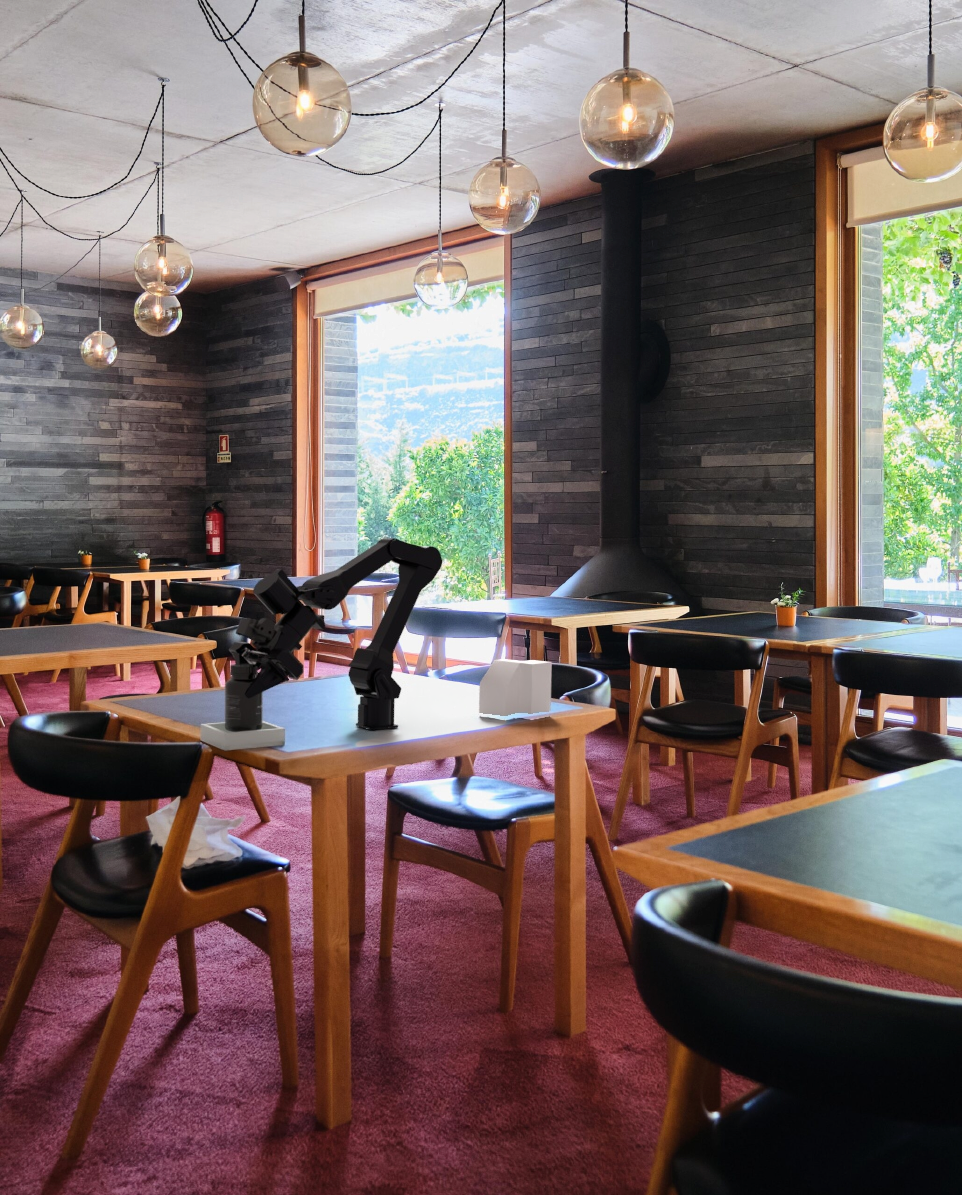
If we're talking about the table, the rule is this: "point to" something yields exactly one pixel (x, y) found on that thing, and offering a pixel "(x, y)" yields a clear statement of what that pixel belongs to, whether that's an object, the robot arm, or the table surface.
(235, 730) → the supplement bottle
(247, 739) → the tray
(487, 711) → the white chamfered block
